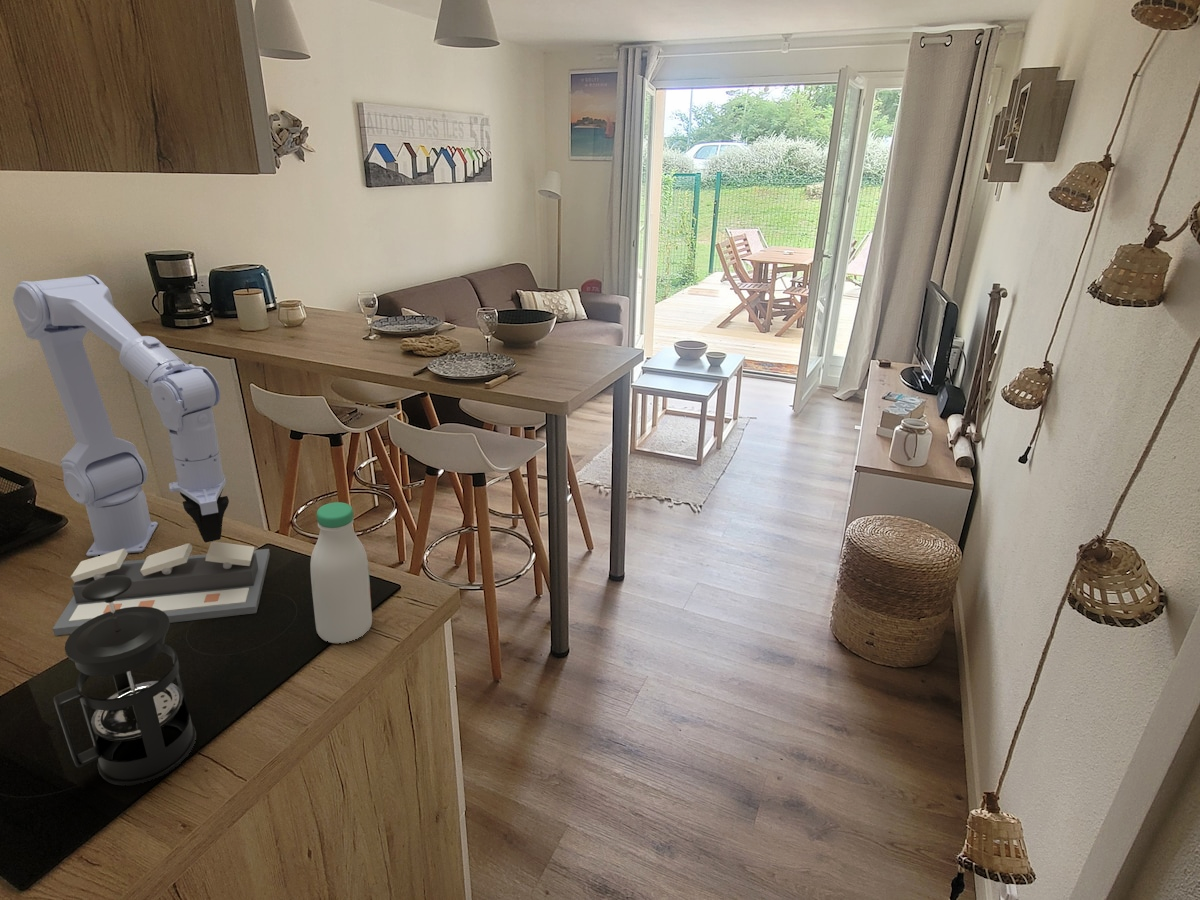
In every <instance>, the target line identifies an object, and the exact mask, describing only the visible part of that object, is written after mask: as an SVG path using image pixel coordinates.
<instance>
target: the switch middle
mask: <svg viewBox="0 0 1200 900" xmlns="http://www.w3.org/2000/svg"><path fill="white" fill-rule="evenodd" d="M192 551H193V546H192V544H191V543H190V542H189V543H184V544H183V545H179V546H175V547H172V548H169V549H166V550H162V551H160V552H159V551H158V552H155V553H153V554H150V555H149V554H148V556H147V557H146V558H145V559H146V560H145V562H144V564H143V566H142V568H141V570H140V571H141V573H142V574H143V576H145V575H148V574H152V573H155V572H158V571H161V570H162V573H163V574H165V575H168V574H170V573H171V571H172V569H173V567H174V566H177V565H180V564H184V563H187V560H188V558H189V556H191V552H192Z"/></svg>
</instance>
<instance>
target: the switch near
mask: <svg viewBox="0 0 1200 900" xmlns="http://www.w3.org/2000/svg"><path fill="white" fill-rule="evenodd" d="M128 555H129V553H127V551H126V550H125V548H124V549H120V550H117V551H114V552H111V553H107V554H104V555H100V556H93V557H92V558H88V559H85V560H81V561H80V562H79V564H78V566H76V569H75V570H74V571H73V573H72V574H71V575H70V578H71V579H72V581H73V583H75V582H77V581H81V580H84V579H87V578H90V577H94V579H95V580H96V579H99V578H102V577H105V575H106V573H107V572H110V571H113V570H116V569H119V568H120V567H121V565H122V563H123V561H126V558H127V556H128Z"/></svg>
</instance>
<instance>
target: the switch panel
mask: <svg viewBox="0 0 1200 900" xmlns="http://www.w3.org/2000/svg"><path fill="white" fill-rule="evenodd" d="M206 555H207V553H206V554H204V553H203V554H194V555H193V554H192V555H191V554H190V556H189V558H188V560H187V563H184V564H180V565H177V566H174V567H173V569H172V571H171V573H170V574H168V575H165V574H163V573H162V570H161V571H158V572H155V573H152V574H148V575H145V576H143V574H142V573H141V571H140V570H141V568H142V566H143V564H144V562H145V560H146V558H145V559H136V560H135V559H134V560H133V559H132V560H124V561H123V563H122V565H121V567H120V568H119V569H116V570H113V571H110V572H107V573H106V575H105V577H106V576H111V575H124V576H127V577H129V578H130V579H131V580H132V585H131V587H130V588H129V589H128V590H127V591H126V592H124V593H122V594H121V595H119V596H116V597H115V598H116V599H115V601H113V604H114V608H115V610H117V609H122V608H128V607H152V608H156V609H159V610H161V611H163V612H164V613H165V614H166V615H167V616H168V618H169V621H170V624H171V623H179V622H180V623H181V622H189V621H197V620H200V621H201V620H206V619H207V620H208V619H215V618H225V617H232V616H234V617H235V616H240V615H243V616H244V615H251V614H257V612H258V608H259V604H260V600H261V595H262V592H263V591H262V590H263V586H264V581H265V577H266V574H267V569H268V566H269V565H268V564H269V562H270V561H269V560H270V557H271V553H270V548H264V549H254V551H253V555H252V559H251V562H250V566H244V565H235V564H232V567H231V568H230V569H225V568H223V563H219V562H210V561H205V560H206ZM94 580H95V579H94V577H90V578H87V579H84V580H81V581H77V582H73V583H74V584H73V585H72V586H71V590H72V592H73V593H72V594H73V595H72V598H70V601H69V602H68V603H67V605H66V607H65V608H64V610H63V612H62V613H61V615H60V616H59V618H58V619H57V621H56V622H55V624H54V626H53V627H52V631H53V632H52V633H53V635H54V637H56V636H65V635H71V634H72V633H73V632H74V631H75V630H76V629H77V628H78V627H80V626H81V625H82V624H84V623H86V622H87V621H89V620H91V619H93V618H95V617H97V616H99V615H102V614H104V613H107V612H110V611H111V610H110V606H109V603H106V602H105V600H99V601H92V600H87V599H85V598H83V597H82V596H81V591H82V589H83V588H84V587H85V586H86V585H87V584H89V583H90V582H92V581H94Z"/></svg>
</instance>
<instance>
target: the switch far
mask: <svg viewBox="0 0 1200 900" xmlns="http://www.w3.org/2000/svg"><path fill="white" fill-rule="evenodd" d="M254 550H255V546H252V545H243V544H236V543H235V544H234V543H229V542H221V541H211V542H210V545H209V547H208V549H207V553H206V554H207V555H206V560H205V561H210V562H219V563H223V568H225V569H230V568H231V567H232V564H235V565H244V566H250V562H251V559H252V555H253V551H254Z"/></svg>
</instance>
